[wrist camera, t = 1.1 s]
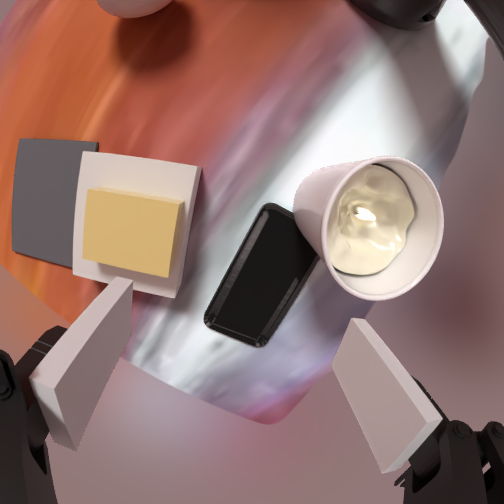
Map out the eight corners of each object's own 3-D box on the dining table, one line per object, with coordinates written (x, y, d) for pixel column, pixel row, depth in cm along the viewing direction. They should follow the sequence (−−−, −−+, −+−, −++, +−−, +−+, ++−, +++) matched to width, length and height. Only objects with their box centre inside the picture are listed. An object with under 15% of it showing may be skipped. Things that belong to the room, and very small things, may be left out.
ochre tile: (184, 200, 23) (179, 204, 21) (173, 267, 25) (168, 277, 22) (100, 186, 22) (87, 188, 20) (94, 250, 24) (82, 258, 21)
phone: (200, 323, 30) (267, 199, 27) (201, 318, 31) (265, 198, 28) (263, 349, 32) (333, 236, 28) (262, 344, 33) (330, 234, 29)
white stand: (201, 167, 26) (197, 166, 22) (181, 282, 29) (175, 298, 26) (100, 152, 25) (82, 151, 21) (89, 261, 28) (72, 274, 24)
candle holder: (380, 172, 28) (455, 179, 16) (360, 258, 30) (422, 305, 19) (294, 149, 26) (339, 136, 15) (276, 245, 29) (306, 295, 17)
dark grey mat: (98, 142, 24) (96, 142, 24) (85, 269, 28) (83, 270, 28) (21, 138, 23) (19, 138, 22) (14, 249, 27) (12, 250, 26)
